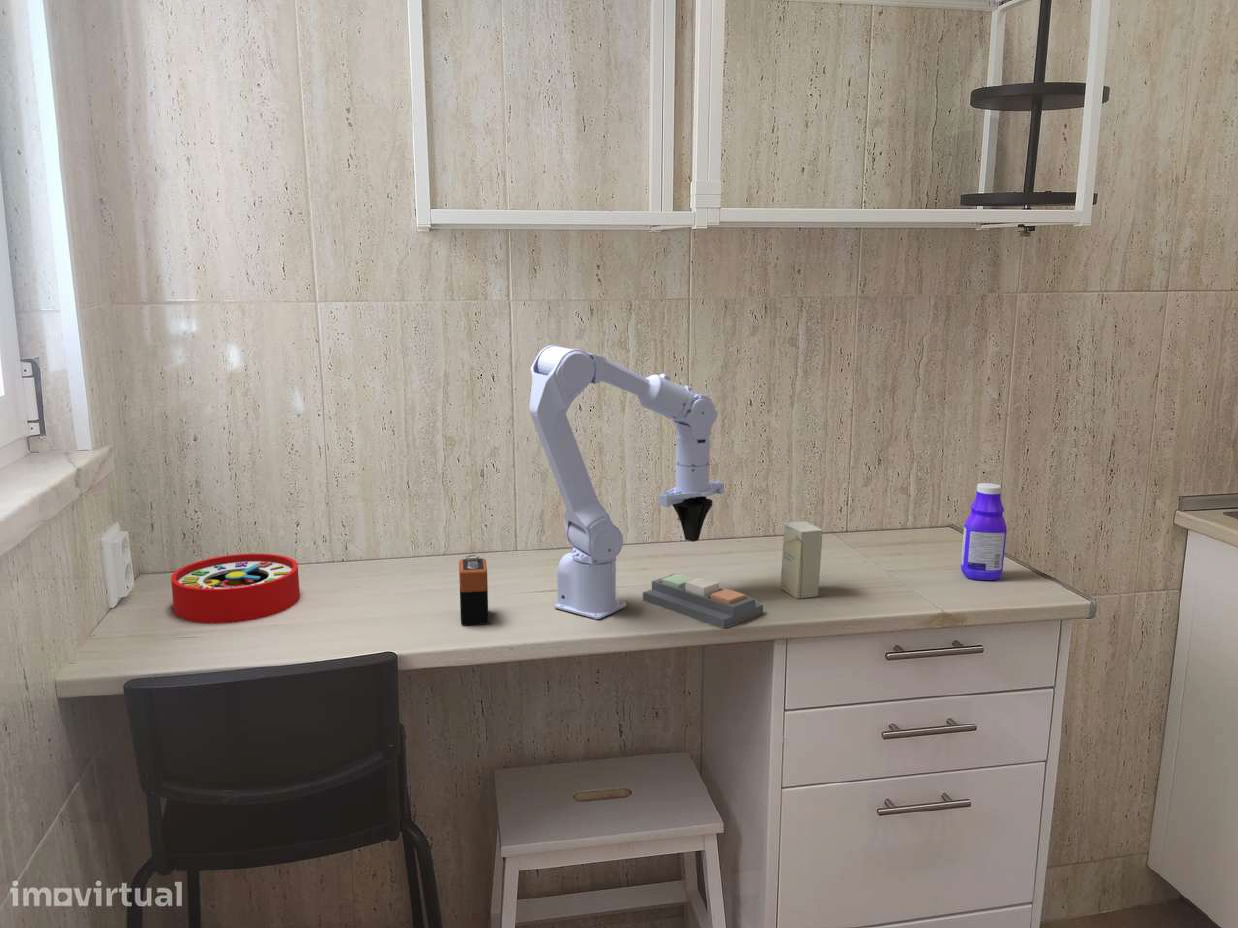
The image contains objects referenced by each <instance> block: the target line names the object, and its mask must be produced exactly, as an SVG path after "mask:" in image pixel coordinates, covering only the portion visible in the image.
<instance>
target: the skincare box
mask: <svg viewBox="0 0 1238 928" xmlns="http://www.w3.org/2000/svg"><path fill="white" fill-rule="evenodd" d="M823 531H824V529H822V528H821V527H819V526H816V525H814V524H812V523H810V522H808V521H806V520H801V521H789V522H788V521H787V522H784V523H783V540H782V541H783V542H782V557H781V558H782V559H781V575H780V589H781V590H783V591H784V592H786V593H788V594H789V595H791V597H794V598H795V599H797V600H798V599H805V598H806V599H807V598H815V597H818V596H819V589H820V588H819V586H820V585H819V584H820V573H821V572H820V571H821V559H822V547H823V546H822V545H823Z"/></svg>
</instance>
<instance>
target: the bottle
mask: <svg viewBox="0 0 1238 928" xmlns="http://www.w3.org/2000/svg"><path fill="white" fill-rule="evenodd" d="M1001 494H1002V485H1000V484H998V483H997V484H996V483H992V482H991V483H990V482H980V483H977V487H976V495H975V499H974V501H973V502H972V504H971V505H970V510H971V512H970V514H969V515H968V517H967V518H966V520H965V522H964V526H963V535H962V536H963V537H962V545H961V546H962V547H961V549H962V550H961V558H960V568H961V572H962V574H963V576H965V577H966V578H968V579H971V580H981V581H982V580H983V581H996V580H998V579H1000V577H1001V576H1002V573H1003V570H1004V561H1005V560H1004V558H1005V552H1006V551H1005V550H1006V549H1005V548H1006V539H1007V531H1008V528H1007V527H1008V526H1007V523H1006V521H1005V518H1004V515H1003V513H1005V508H1004V505H1003V504H1002V499H1001V498H1002V497H1001V496H1002V495H1001Z"/></svg>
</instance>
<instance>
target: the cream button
mask: <svg viewBox="0 0 1238 928" xmlns="http://www.w3.org/2000/svg"><path fill="white" fill-rule="evenodd" d="M693 579H694V580H691V581H688V582H686V584H685V591H688V592H691V593H694V594H697V595H701V596H707V595H709V594H712V593H715V592H718V591H719V588H720V582H718V581H715V580H712V579H709V578H706V577H703V576H701V577H698V578H693Z"/></svg>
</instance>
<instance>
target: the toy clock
mask: <svg viewBox="0 0 1238 928" xmlns="http://www.w3.org/2000/svg"><path fill="white" fill-rule="evenodd" d="M299 578H300V577H299V564H298V562H297V561H296V560H295V559H293V558H291V557H289V556H285V555H280V554H275V553H274V554H273V553H238V554H229V555H222V556H216V557H210V558H207V559H203V560H199V561H196V562H192V563H189V564H187V565H185V566H183V567H180V568H179V569H177V570H176V571H174V572H173V573H172V575H171V578H170V582H171V583H170V584H171V594H172V604H173V611H174V614H175V615H176V616H177V617H178V618H180V619H182V620H185V621H189V622H193V623H201V624H231V623H232V624H233V623H234V624H235V623H241V622H248V621H254V620H259V619H263V618H266V617H270V616H274V615H277V614H279V613H282V612H284V611H287V610H288V609H290V608H292V607H294V606H295V605H296V604H297V603H298V602H299V601H300V598H301V595H300V594H301V593H300V590H301V589H300V580H299Z"/></svg>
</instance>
